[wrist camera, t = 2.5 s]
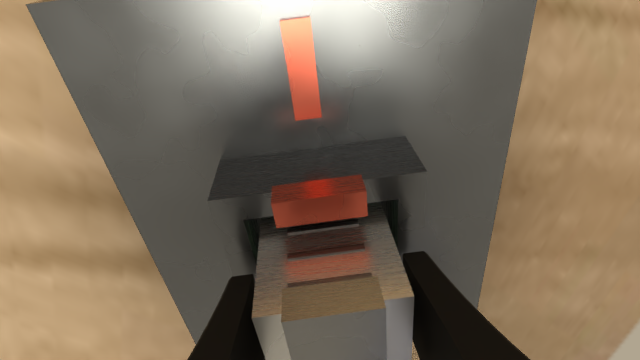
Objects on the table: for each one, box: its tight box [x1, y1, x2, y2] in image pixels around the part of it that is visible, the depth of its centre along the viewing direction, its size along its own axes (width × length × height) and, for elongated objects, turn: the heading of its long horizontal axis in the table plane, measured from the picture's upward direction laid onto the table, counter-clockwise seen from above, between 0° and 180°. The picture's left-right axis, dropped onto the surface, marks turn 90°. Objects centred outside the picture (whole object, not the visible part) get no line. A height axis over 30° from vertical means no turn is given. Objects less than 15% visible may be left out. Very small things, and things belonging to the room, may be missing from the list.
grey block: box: [252, 202, 414, 360], centre depth 11 cm, size 5×4×6 cm
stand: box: [26, 0, 537, 344], centre depth 12 cm, size 16×13×4 cm
